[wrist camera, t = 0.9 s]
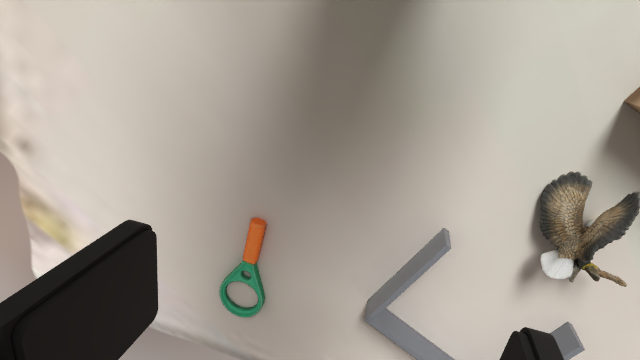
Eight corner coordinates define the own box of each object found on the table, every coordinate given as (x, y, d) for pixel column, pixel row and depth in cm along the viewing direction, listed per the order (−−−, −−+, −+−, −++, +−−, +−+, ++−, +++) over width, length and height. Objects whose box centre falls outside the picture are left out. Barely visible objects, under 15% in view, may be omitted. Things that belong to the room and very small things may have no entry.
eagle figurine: (637, 259, 36) (655, 179, 32) (617, 310, 33) (634, 227, 28) (547, 235, 42) (553, 163, 37) (521, 276, 38) (524, 202, 33)
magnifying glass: (260, 317, 52) (255, 326, 51) (219, 301, 53) (214, 309, 51) (285, 226, 46) (280, 233, 44) (239, 209, 47) (233, 215, 45)
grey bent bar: (444, 227, 41) (446, 244, 38) (572, 325, 41) (584, 349, 38) (367, 300, 46) (364, 320, 43) (481, 384, 47) (486, 410, 44)
